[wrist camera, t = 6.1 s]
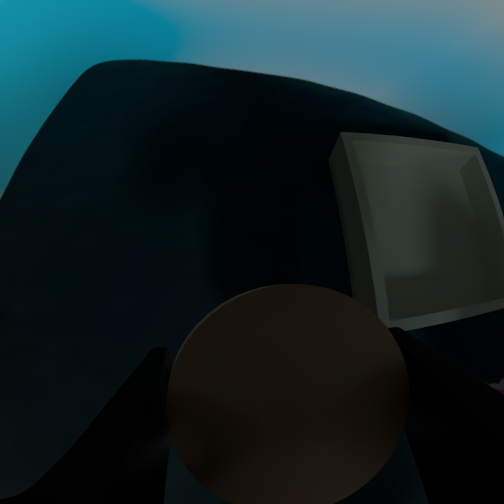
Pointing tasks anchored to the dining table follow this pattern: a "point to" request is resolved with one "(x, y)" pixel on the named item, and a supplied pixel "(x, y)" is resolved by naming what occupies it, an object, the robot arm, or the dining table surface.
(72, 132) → the dining table surface
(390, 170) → the bin
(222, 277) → the dining table surface
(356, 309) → the jar
